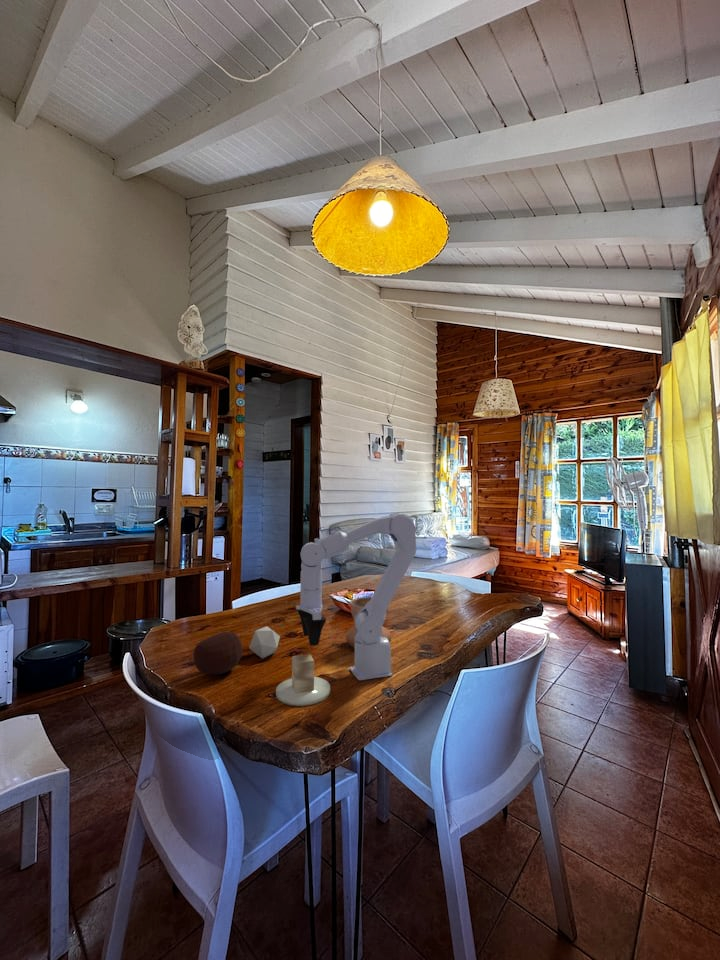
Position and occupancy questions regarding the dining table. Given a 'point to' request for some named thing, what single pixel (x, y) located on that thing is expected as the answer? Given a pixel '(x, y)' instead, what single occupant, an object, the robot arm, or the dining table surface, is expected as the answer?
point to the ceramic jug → (355, 607)
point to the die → (264, 642)
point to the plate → (305, 698)
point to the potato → (218, 653)
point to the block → (302, 673)
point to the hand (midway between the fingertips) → (310, 640)
